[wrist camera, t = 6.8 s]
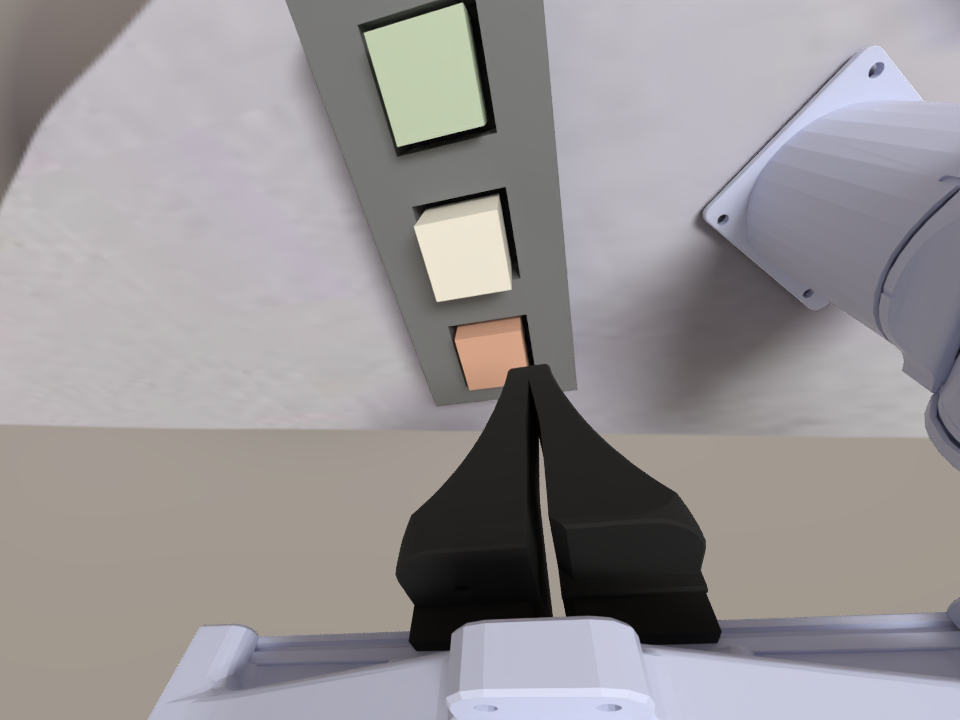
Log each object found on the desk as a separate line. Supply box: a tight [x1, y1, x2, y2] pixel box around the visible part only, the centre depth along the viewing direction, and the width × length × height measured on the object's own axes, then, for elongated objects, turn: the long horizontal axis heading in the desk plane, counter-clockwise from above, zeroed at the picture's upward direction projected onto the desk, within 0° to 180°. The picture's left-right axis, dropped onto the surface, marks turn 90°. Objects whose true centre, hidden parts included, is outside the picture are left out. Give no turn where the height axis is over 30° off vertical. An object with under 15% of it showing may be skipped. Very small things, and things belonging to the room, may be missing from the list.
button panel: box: [286, 0, 577, 406], centre depth 19 cm, size 20×9×2 cm, turn 12°
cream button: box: [414, 193, 512, 302], centre depth 18 cm, size 4×4×3 cm
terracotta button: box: [455, 315, 529, 390], centre depth 23 cm, size 4×4×3 cm
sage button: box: [364, 3, 488, 147], centre depth 15 cm, size 4×4×3 cm
